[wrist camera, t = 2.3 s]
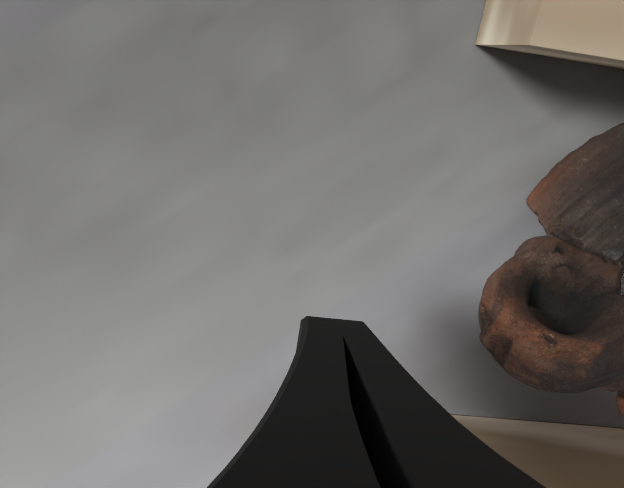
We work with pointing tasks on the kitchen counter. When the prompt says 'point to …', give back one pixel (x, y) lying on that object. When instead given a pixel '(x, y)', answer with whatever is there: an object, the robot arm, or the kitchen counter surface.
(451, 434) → the robot arm
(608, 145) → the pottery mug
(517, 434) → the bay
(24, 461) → the kitchen counter surface
